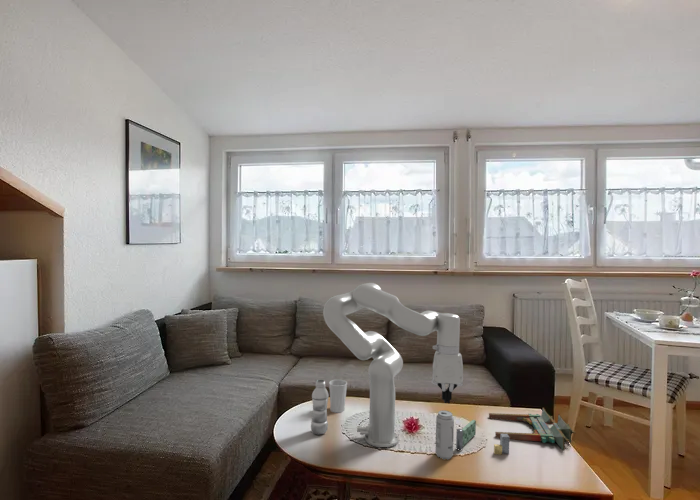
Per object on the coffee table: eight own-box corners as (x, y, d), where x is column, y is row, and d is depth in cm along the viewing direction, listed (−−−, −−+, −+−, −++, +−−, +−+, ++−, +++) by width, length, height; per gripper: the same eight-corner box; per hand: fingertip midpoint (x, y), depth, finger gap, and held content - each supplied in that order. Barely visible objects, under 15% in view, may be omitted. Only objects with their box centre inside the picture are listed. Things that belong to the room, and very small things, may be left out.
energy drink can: (452, 461, 135) (453, 418, 135) (434, 458, 137) (435, 415, 137) (453, 452, 141) (454, 411, 141) (436, 450, 143) (437, 408, 143)
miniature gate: (487, 405, 176) (560, 407, 170) (488, 418, 176) (561, 420, 170) (497, 433, 150) (584, 437, 144) (498, 448, 150) (585, 453, 144)
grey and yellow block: (494, 454, 141) (495, 437, 141) (492, 449, 144) (492, 433, 144) (509, 455, 141) (510, 438, 141) (506, 450, 144) (507, 433, 144)
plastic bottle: (307, 432, 154) (308, 380, 154) (321, 427, 159) (322, 377, 158) (317, 438, 149) (318, 385, 149) (331, 433, 154) (332, 381, 154)
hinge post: (456, 450, 143) (457, 431, 143) (455, 447, 145) (456, 428, 145) (462, 451, 143) (463, 431, 143) (461, 448, 145) (462, 428, 145)
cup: (338, 404, 181) (339, 378, 181) (350, 410, 175) (350, 383, 175) (324, 408, 176) (325, 382, 176) (335, 415, 170) (336, 387, 170)
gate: (462, 446, 145) (463, 431, 145) (459, 445, 146) (460, 430, 146) (475, 434, 154) (475, 420, 154) (472, 433, 155) (472, 419, 155)
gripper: (427, 351, 136) (426, 404, 136) (472, 353, 134) (470, 407, 135) (425, 345, 143) (423, 396, 143) (467, 347, 142) (466, 398, 142)
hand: (446, 401), depth 139 cm, fingers closed
